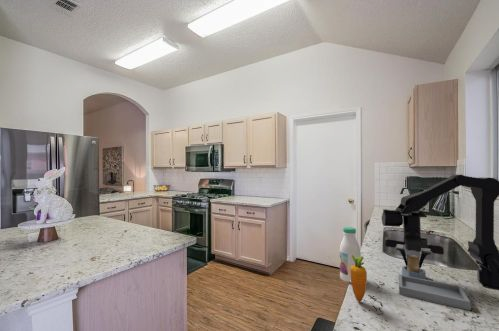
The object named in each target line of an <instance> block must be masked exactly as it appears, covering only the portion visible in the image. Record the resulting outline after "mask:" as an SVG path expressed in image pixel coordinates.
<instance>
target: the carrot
mask: <svg viewBox="0 0 499 331" xmlns="http://www.w3.org/2000/svg"><path fill="white" fill-rule="evenodd" d="M351 256H352V258H353V260H354V262H355V265H353V266H351V267H350V275H351V283H350V284H351V288H352V291H353V294H354V297H355V299H356V301H357V302H358V303H361V302H362V301H363V299H364V297H365V294H366V289H367V281H368V280H367V273H368V272H367V270H366V267H365V266H363V265H364V264H365V262H363V260H364V258H365V257H364V256H363V255H361V256H359V258H357V257H356V258H355V257H354V255H351ZM357 260H358V261H357Z"/></svg>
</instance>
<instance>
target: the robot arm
mask: <svg viewBox="0 0 499 331" xmlns="http://www.w3.org/2000/svg"><path fill="white" fill-rule="evenodd" d="M460 186H461V187H466V188H470V190H471V194H472V197H473V199H474V200H475V238H474V239H473V241H470V240H468V241H467V245H468V246H467V247H468V249H467V251H466V252H468V253H469V256H470V257H471V258H472V259H473V260H474V261H475V263H476V264H477V265H478V268H477V269H476V274H477V276H476V279H477V281H478V282H479V283H480V284H481V285H482V287H484V288H489V289H495V290H499V248H498V246H497V244H496V242H495V238H494V237H495V235H494V234H495V233H494V231H495V219H494V218H495V202H496V200H497V199H498V197H499V180H498V179H497V178H494V177H475V176H474V177H473V176H467V175H463V174H451V175H450V176H449V177H448V178H445V179H443V180H442V181H439V182H438V183H435V184H434V185H432V186H429V187H427V188H426V189H424V190H422V191H418V192H415V193H410V194H409V195H405V196H403V197H402V198H401V201H400V203H399V205H398V206H397V207H396V209H395V210H394V209H387V208H386V209H385V208H383V209H382V214H381V222H382V223H381V224H382V225H383V227H393V228H394V227H395V228H396V227H401V226H402V225H403V240H397V237H391V236H390V237H389V236H386V237H385V242H384V246H385V247H388V248H395V250H397V251H398V252H400V254H401V256H402V259H403V262H404V264H405V266H407V254H406V250H407V251H414V252H419V256H418V257H419V268H421V269H422V266H423V264H424V261H425V259H426V257H427V256H428V255H429V256H430V255H431V254H436V255H444V254H445V253H444V247H443V245H442V244H441V243H440V242H431V241H429V242H428V238H422V230H421V229H422V228H421V227H422V226H421V218H427V217H428V216H427V215H426V214H425V213H423V210H422V209H423V208H424V207H426V206H427V205H428V203H429V202H431V201H432V200H435V199H436V198H438V197H440V196H442V195H444V194H446V193H448V192H450V191H452V190H454V189H456V188H458V187H460Z"/></svg>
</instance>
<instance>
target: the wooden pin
mask: <svg viewBox="0 0 499 331" xmlns="http://www.w3.org/2000/svg"><path fill="white" fill-rule="evenodd" d="M419 257H420V256H417V255H413V254H406V258H407V270H408V271H411V272H417V273H419V272H420V271H419Z"/></svg>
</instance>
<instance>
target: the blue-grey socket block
mask: <svg viewBox="0 0 499 331" xmlns="http://www.w3.org/2000/svg"><path fill="white" fill-rule="evenodd" d="M419 271H420V272H419V273H417V272H411V271H408V270H407V266H406V265H401V275H405V276H410V277H415V278H420V279H425V280H427V275H426V274H427V273H426V270H425V269H423V268H422V267H421V268H419Z"/></svg>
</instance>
